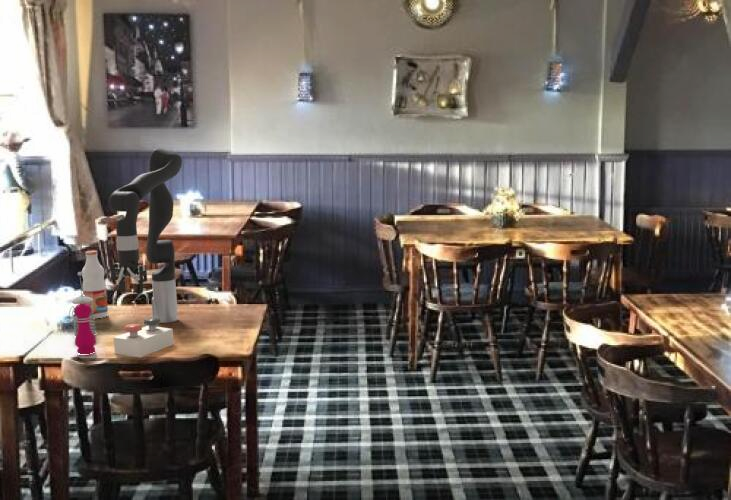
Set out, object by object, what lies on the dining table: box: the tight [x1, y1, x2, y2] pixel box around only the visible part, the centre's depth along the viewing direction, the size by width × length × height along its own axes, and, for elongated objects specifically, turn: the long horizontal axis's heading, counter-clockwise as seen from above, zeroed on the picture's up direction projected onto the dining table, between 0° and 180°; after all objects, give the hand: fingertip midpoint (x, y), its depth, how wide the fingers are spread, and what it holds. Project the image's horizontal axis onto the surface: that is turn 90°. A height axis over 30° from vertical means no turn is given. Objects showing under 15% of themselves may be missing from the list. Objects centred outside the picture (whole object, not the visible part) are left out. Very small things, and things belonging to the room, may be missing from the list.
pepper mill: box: [73, 300, 97, 354], centre depth 340 cm, size 7×7×20 cm
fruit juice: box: [81, 250, 109, 319], centre depth 393 cm, size 9×9×28 cm
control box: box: [113, 325, 174, 358], centre depth 345 cm, size 12×18×6 cm, turn 151°
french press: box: [68, 271, 98, 336], centre depth 365 cm, size 10×12×25 cm
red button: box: [124, 323, 143, 338], centre depth 340 cm, size 6×6×5 cm
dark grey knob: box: [143, 317, 162, 332], centre depth 348 cm, size 6×6×5 cm
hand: (131, 292), depth 337 cm, fingers open, 7 cm apart
